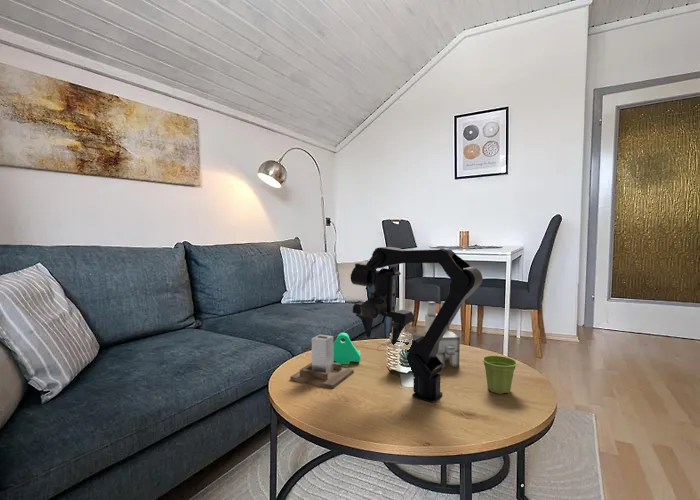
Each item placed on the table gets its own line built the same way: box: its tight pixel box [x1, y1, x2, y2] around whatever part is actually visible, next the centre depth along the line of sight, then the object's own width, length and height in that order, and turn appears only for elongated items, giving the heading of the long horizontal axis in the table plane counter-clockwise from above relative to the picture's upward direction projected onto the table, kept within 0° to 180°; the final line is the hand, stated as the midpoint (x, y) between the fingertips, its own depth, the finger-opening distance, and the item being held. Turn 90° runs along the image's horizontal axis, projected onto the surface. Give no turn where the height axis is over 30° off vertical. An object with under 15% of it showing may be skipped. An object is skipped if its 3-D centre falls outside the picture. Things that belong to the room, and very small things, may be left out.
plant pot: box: [481, 355, 518, 395], centre depth 111 cm, size 9×9×9 cm
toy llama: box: [424, 301, 461, 368], centre depth 136 cm, size 8×18×20 cm, turn 5°
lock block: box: [311, 334, 334, 375], centre depth 121 cm, size 5×5×12 cm
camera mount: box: [333, 332, 362, 365], centre depth 137 cm, size 12×8×10 cm, turn 87°
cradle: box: [289, 361, 355, 390], centre depth 122 cm, size 15×14×3 cm
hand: (380, 340), depth 115 cm, fingers open, 9 cm apart
